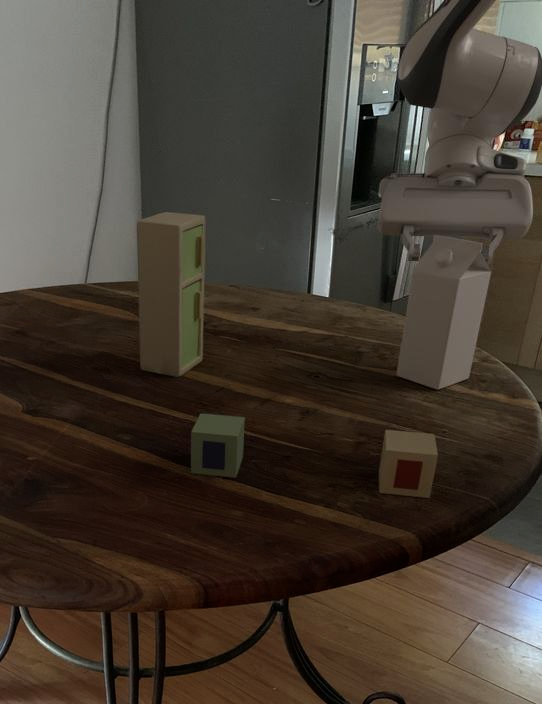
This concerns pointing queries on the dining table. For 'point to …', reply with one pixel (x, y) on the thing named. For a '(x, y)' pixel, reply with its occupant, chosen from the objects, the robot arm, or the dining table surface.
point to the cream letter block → (407, 463)
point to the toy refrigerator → (171, 291)
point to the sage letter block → (217, 445)
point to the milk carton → (444, 313)
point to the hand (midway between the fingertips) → (449, 260)
